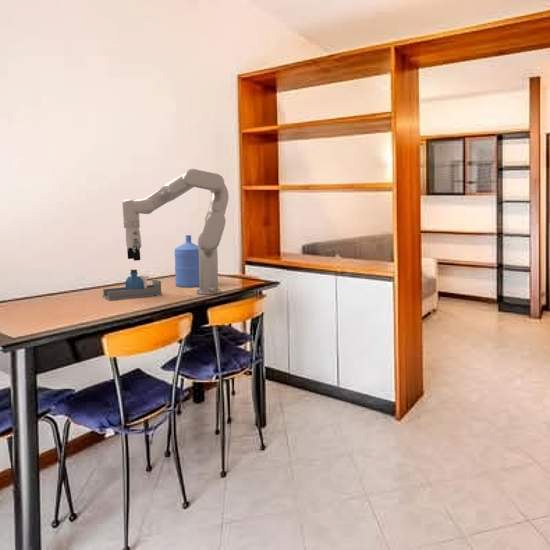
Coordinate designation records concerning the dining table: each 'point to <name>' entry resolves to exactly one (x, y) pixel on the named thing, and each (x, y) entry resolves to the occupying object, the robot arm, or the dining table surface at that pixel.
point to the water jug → (187, 264)
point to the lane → (133, 291)
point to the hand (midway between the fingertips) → (134, 259)
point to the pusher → (144, 280)
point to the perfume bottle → (134, 281)
